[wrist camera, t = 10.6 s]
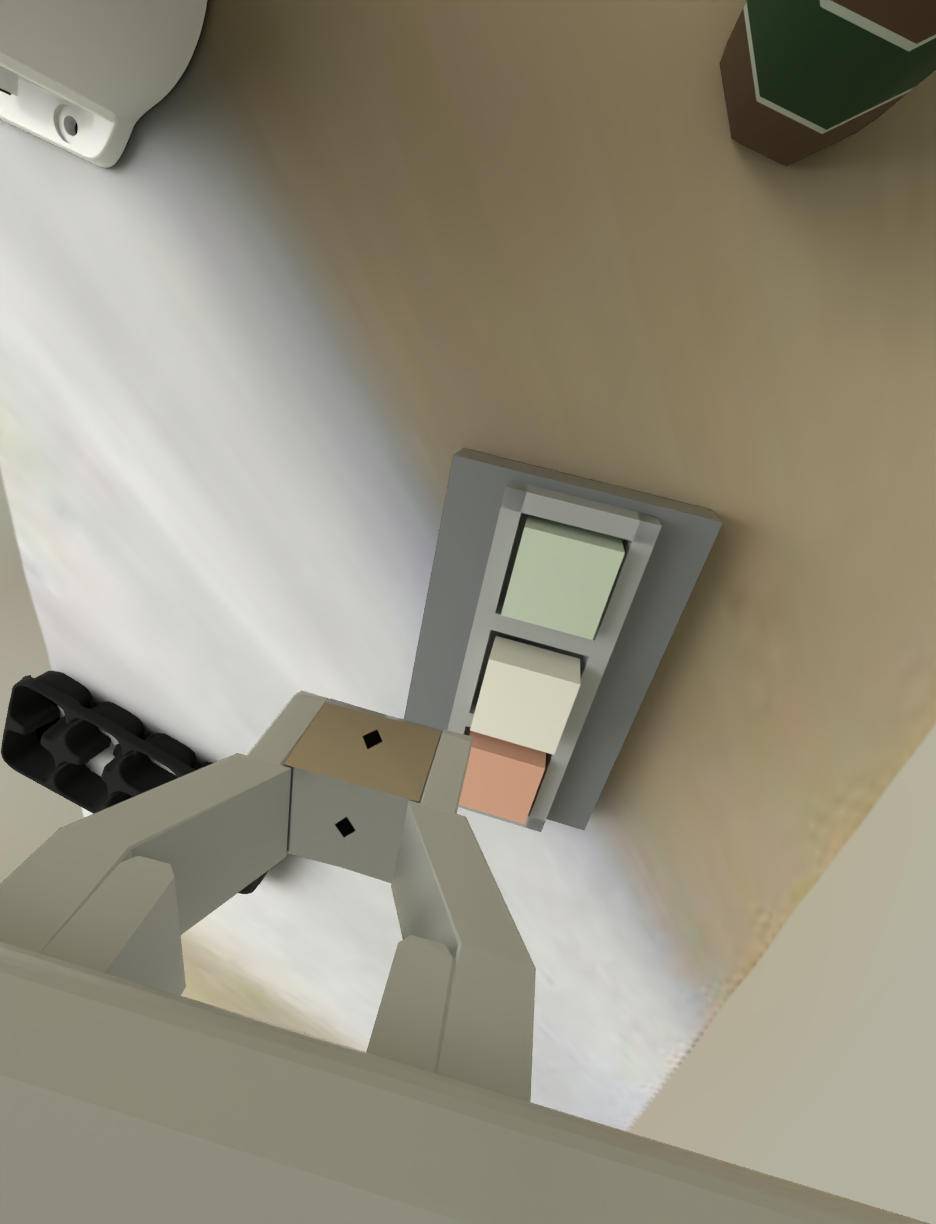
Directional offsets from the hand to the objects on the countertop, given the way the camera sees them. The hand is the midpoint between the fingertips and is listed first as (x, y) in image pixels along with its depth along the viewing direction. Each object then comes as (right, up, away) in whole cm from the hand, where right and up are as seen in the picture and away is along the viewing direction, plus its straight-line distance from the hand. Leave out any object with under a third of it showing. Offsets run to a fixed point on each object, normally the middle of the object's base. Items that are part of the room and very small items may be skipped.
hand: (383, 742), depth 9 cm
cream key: (+5, -2, +26) cm, 26 cm away
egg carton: (-30, -14, +44) cm, 55 cm away
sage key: (+7, +5, +23) cm, 25 cm away
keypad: (+6, -1, +30) cm, 30 cm away
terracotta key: (+4, -9, +30) cm, 32 cm away
